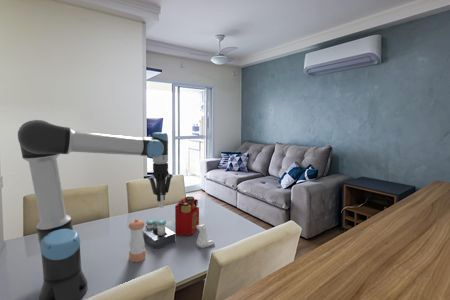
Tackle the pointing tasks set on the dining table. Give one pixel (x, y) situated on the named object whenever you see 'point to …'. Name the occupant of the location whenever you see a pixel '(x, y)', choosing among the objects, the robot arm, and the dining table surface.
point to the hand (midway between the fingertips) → (161, 206)
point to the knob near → (161, 227)
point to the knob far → (150, 224)
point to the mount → (158, 238)
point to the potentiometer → (155, 226)
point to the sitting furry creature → (203, 237)
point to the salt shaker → (136, 241)
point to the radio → (186, 216)
